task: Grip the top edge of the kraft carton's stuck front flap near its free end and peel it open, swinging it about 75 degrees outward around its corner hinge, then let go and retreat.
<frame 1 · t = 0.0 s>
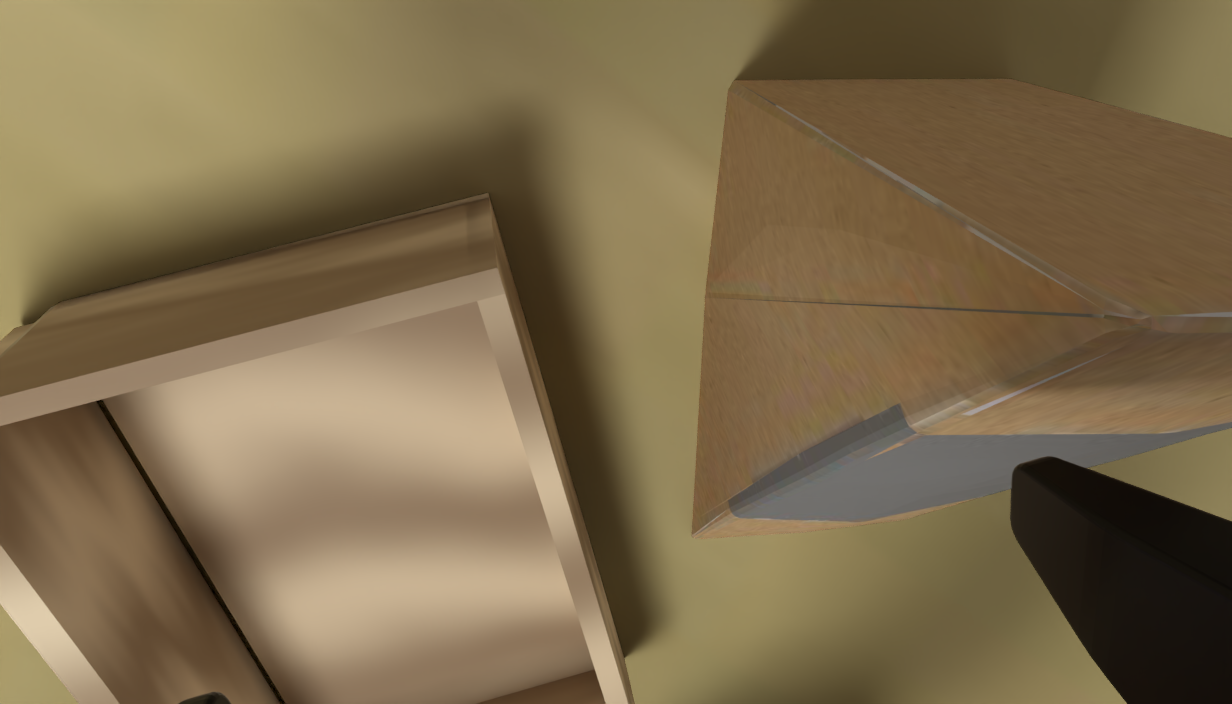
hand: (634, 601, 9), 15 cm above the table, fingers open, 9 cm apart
sandwich container: (829, 332, 26), on the table
flap: (149, 636, 23), point 3 cm above the table, hinge at 0.0°
carton: (379, 516, 26), on the table
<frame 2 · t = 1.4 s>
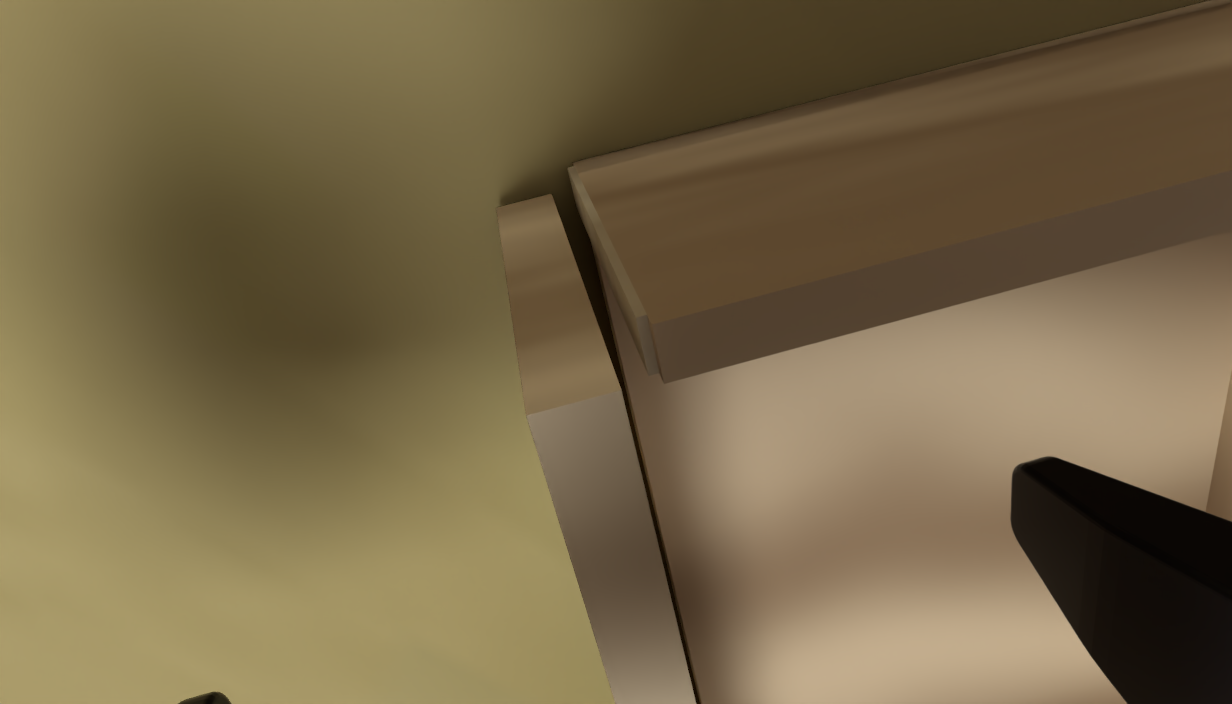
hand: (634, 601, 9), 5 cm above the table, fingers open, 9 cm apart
carton: (932, 538, 16), on the table
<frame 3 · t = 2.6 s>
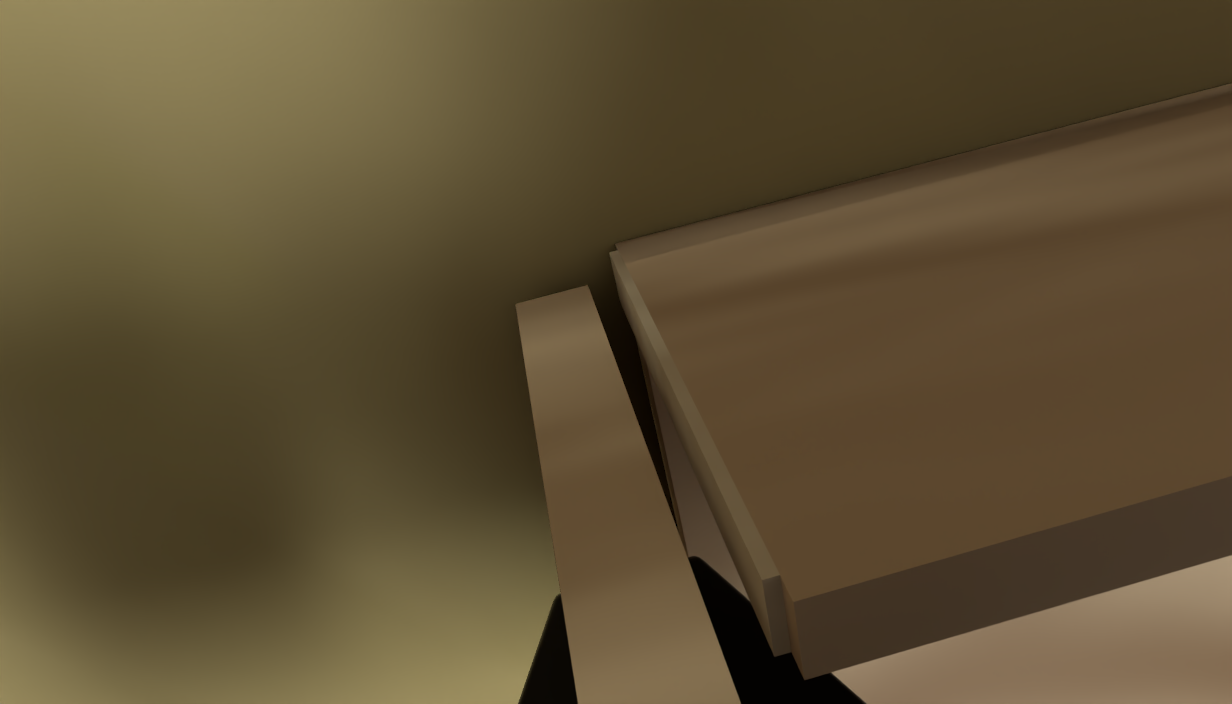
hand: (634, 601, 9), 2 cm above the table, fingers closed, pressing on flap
carton: (1034, 669, 14), on the table
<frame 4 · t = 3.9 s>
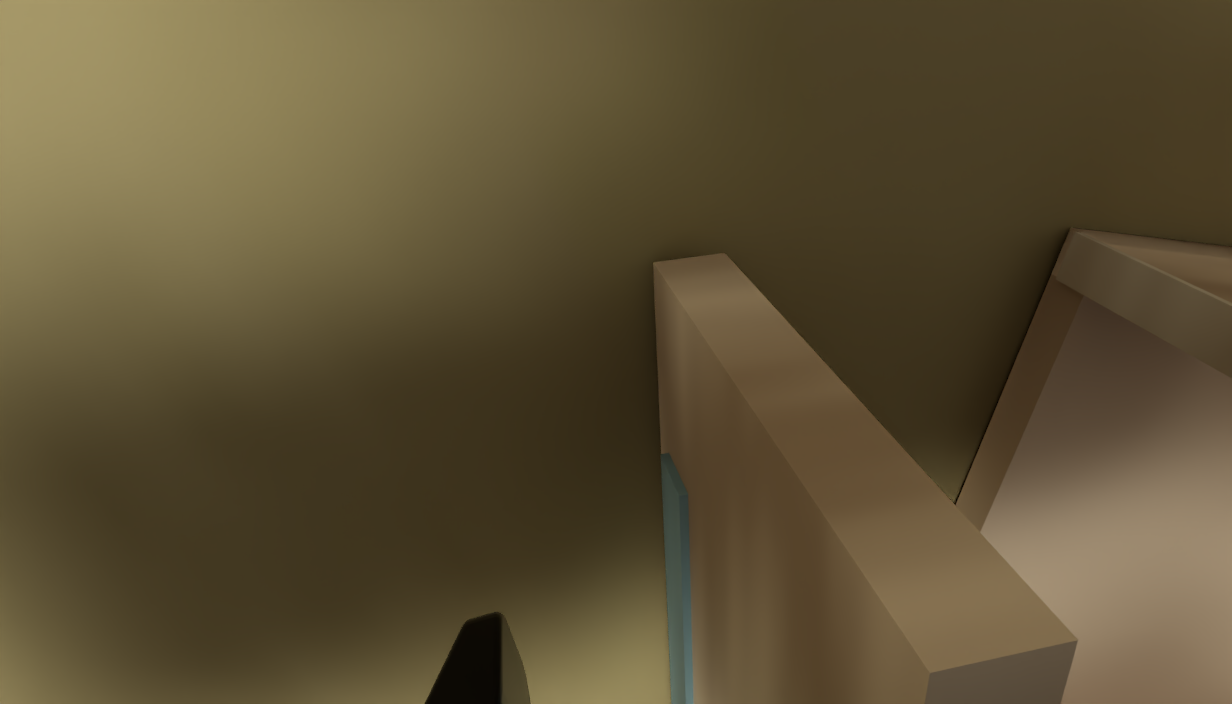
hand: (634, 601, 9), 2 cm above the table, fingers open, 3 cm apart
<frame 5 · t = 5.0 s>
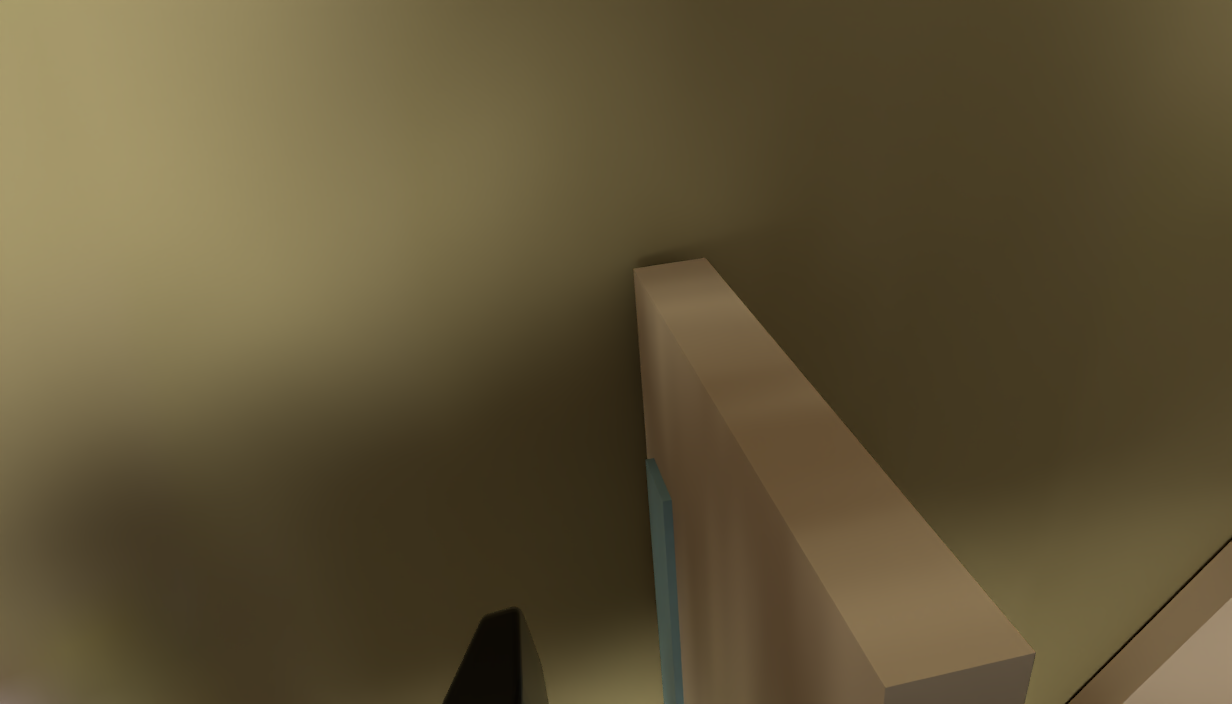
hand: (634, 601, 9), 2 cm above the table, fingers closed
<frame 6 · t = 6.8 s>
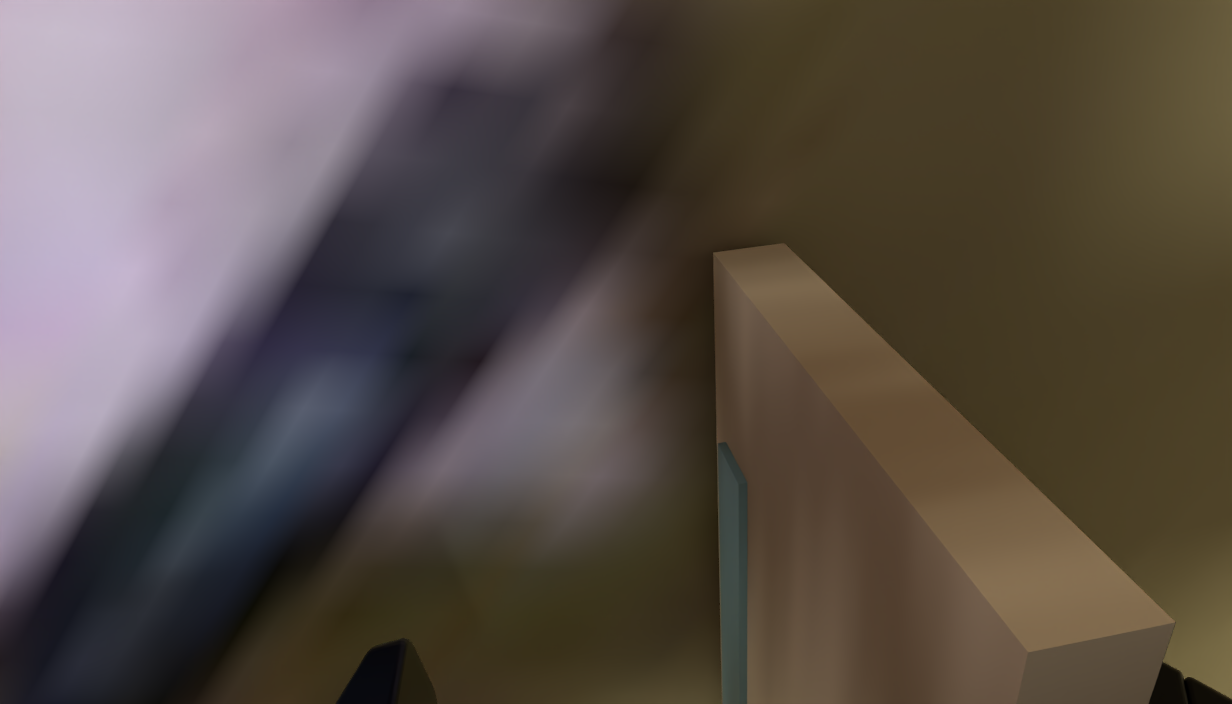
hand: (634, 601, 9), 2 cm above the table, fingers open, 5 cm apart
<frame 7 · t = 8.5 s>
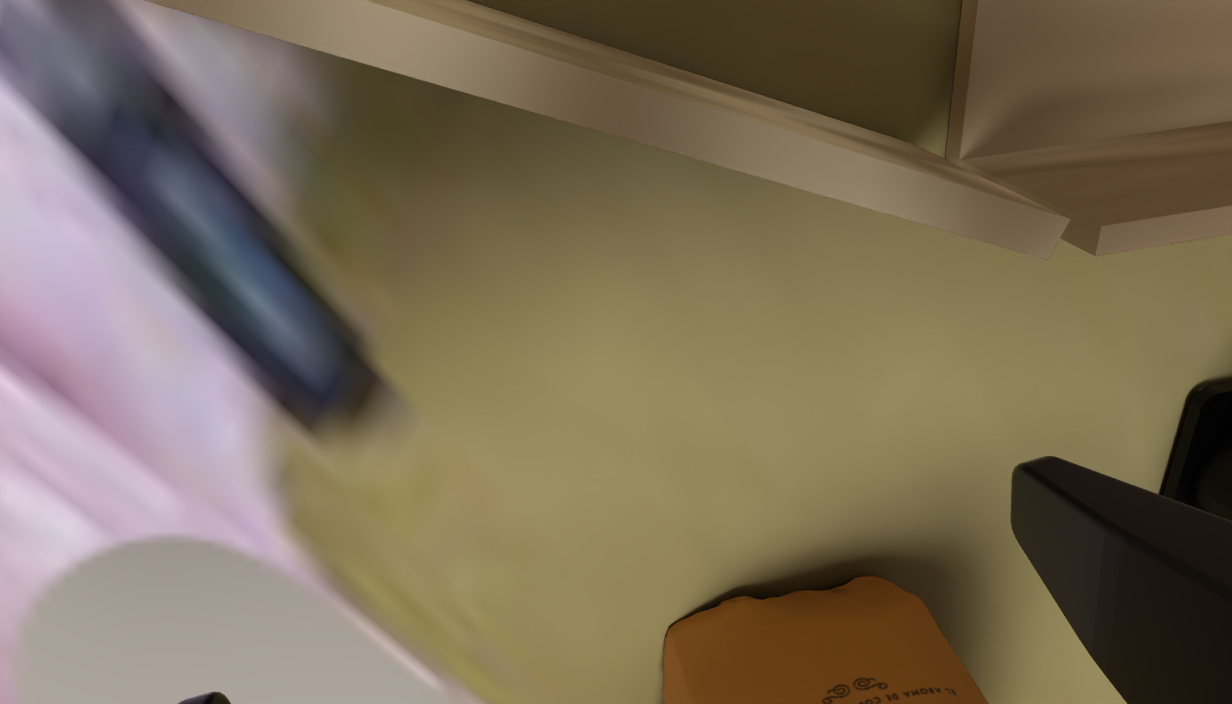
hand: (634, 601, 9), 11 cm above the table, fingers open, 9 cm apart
flap: (591, 80, 15), point 3 cm above the table, hinge at 67.2°
coffee package: (782, 697, 29), on the table
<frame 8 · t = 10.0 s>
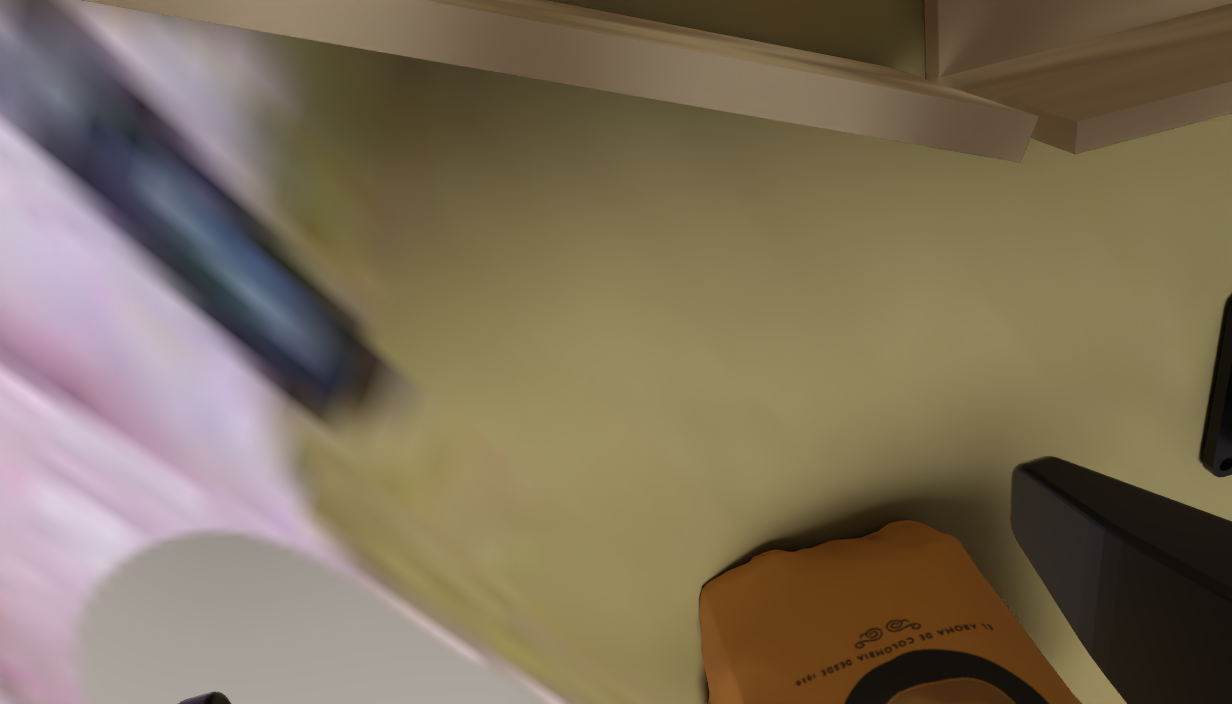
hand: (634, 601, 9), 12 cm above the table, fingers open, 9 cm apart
flap: (532, 34, 15), point 3 cm above the table, hinge at 67.2°
coffee package: (830, 651, 28), on the table
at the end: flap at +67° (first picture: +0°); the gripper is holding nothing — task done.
